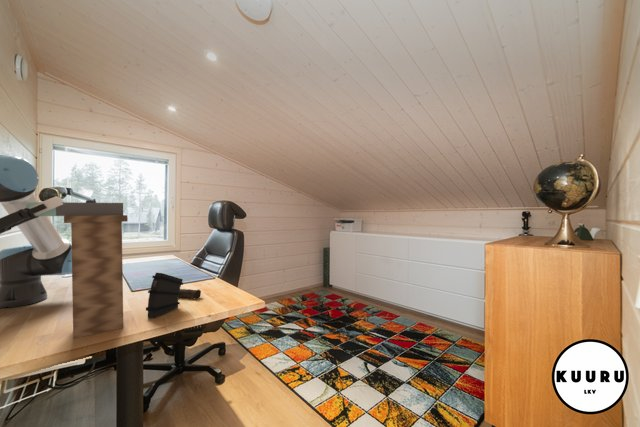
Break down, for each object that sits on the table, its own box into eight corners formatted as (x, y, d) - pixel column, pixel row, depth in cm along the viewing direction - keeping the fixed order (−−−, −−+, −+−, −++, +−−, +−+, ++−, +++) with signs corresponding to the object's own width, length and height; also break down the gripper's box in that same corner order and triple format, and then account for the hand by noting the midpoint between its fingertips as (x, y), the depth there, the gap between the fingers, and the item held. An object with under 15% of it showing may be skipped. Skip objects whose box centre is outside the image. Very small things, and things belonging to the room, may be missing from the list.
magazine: (137, 316, 93) (153, 272, 99) (167, 319, 105) (180, 280, 111) (146, 317, 92) (162, 272, 98) (175, 320, 103) (187, 280, 109)
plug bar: (26, 216, 77) (26, 202, 77) (29, 216, 80) (29, 202, 80) (123, 215, 90) (123, 202, 90) (122, 215, 93) (122, 203, 93)
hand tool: (201, 297, 119) (201, 287, 119) (195, 300, 115) (195, 289, 115) (166, 294, 124) (166, 284, 124) (159, 297, 120) (158, 286, 120)
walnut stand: (66, 340, 80) (63, 216, 79) (70, 328, 88) (68, 215, 87) (129, 326, 89) (127, 215, 88) (127, 317, 97) (126, 214, 96)
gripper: (-20, 252, 79) (73, 211, 91) (-50, 261, 64) (65, 211, 76) (-41, 230, 77) (57, 191, 89) (-78, 234, 62) (46, 187, 74)
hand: (61, 200), depth 82 cm, fingers open, 6 cm apart
